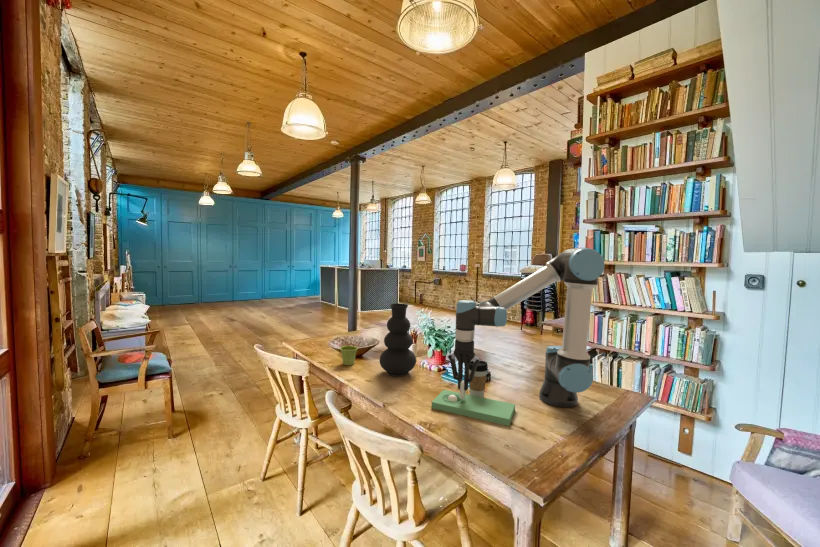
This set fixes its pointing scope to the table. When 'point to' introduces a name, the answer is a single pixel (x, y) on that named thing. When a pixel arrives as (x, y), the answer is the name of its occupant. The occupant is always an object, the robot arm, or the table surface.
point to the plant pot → (348, 354)
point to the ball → (452, 398)
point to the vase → (398, 343)
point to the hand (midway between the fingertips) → (462, 397)
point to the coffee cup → (478, 379)
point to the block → (475, 407)
